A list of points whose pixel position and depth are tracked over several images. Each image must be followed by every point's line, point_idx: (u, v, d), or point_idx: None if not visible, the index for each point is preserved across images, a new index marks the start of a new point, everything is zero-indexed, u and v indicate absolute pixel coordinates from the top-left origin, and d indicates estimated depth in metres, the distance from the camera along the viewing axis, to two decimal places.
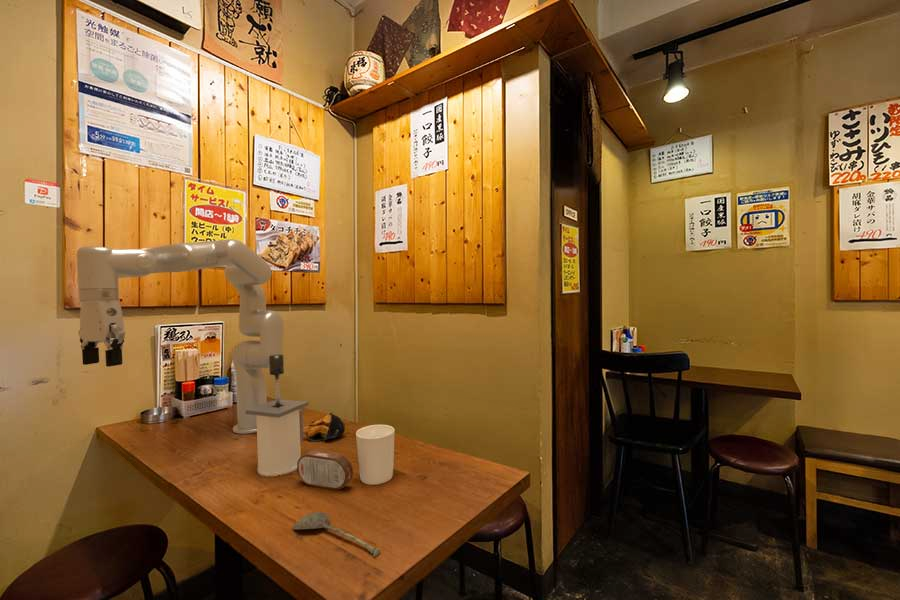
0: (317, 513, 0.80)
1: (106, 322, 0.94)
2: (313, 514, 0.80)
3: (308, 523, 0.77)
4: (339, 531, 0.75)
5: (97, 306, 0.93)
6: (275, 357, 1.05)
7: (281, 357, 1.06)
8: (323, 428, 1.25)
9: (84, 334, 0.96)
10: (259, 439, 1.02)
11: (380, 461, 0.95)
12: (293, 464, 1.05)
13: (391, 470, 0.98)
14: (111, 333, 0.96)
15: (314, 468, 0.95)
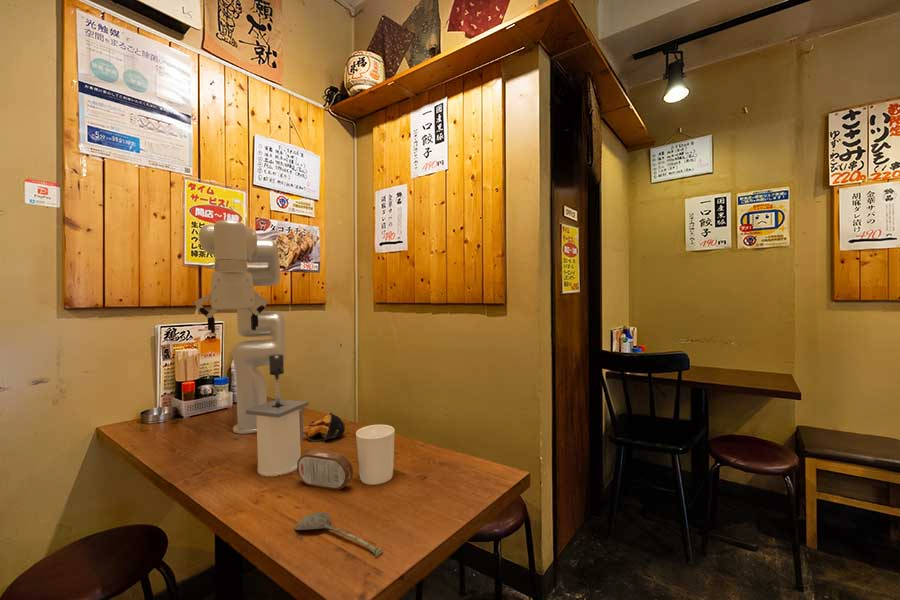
0: (318, 513, 0.80)
1: None
2: (314, 514, 0.79)
3: (309, 523, 0.77)
4: (341, 531, 0.75)
5: None
6: (275, 357, 1.05)
7: (281, 357, 1.06)
8: (323, 428, 1.25)
9: None
10: (259, 439, 1.02)
11: (380, 461, 0.95)
12: (293, 464, 1.05)
13: (391, 470, 0.98)
14: None
15: (314, 468, 0.95)
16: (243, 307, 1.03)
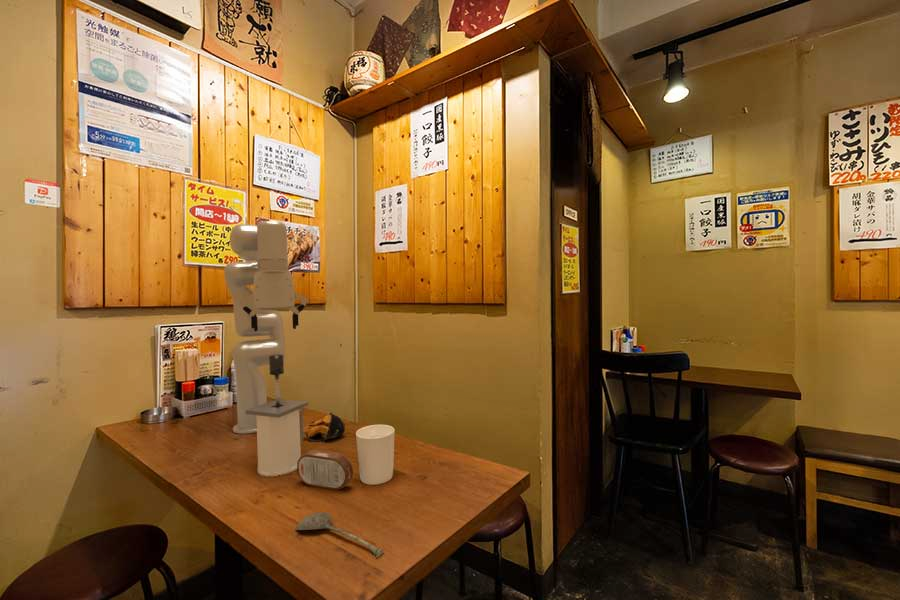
0: (319, 513, 0.80)
1: None
2: (315, 514, 0.79)
3: (310, 524, 0.77)
4: (342, 531, 0.75)
5: None
6: (275, 357, 1.05)
7: (281, 357, 1.06)
8: (323, 428, 1.25)
9: None
10: (259, 439, 1.02)
11: (380, 461, 0.95)
12: (293, 464, 1.05)
13: (391, 470, 0.98)
14: None
15: (314, 468, 0.95)
16: (283, 306, 1.04)
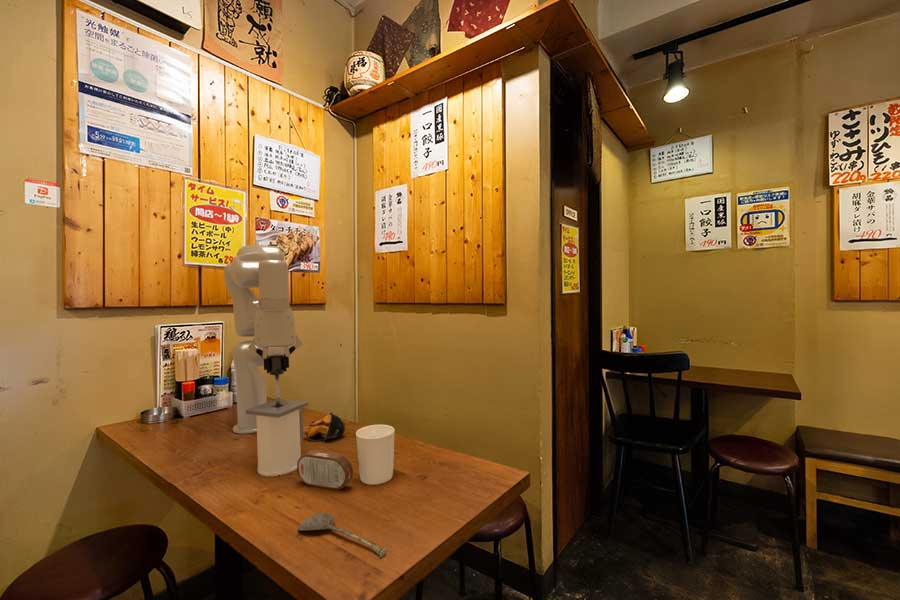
0: (322, 514, 0.80)
1: None
2: (318, 515, 0.79)
3: (313, 524, 0.77)
4: (344, 531, 0.75)
5: None
6: (275, 357, 1.05)
7: (281, 357, 1.06)
8: (323, 428, 1.25)
9: None
10: (259, 439, 1.02)
11: (380, 461, 0.95)
12: (293, 464, 1.05)
13: (391, 470, 0.98)
14: None
15: (314, 469, 0.95)
16: (284, 344, 1.05)
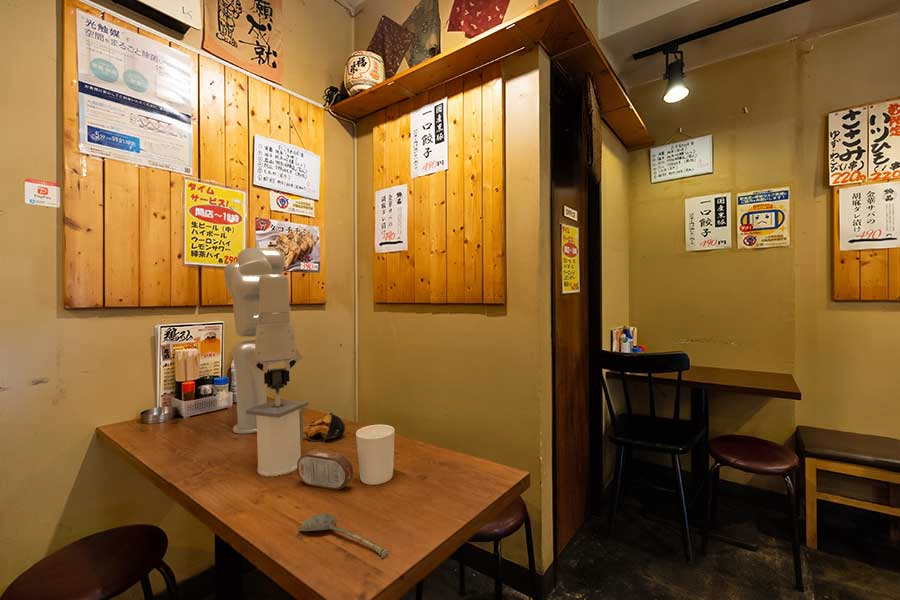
0: (323, 514, 0.80)
1: None
2: (319, 515, 0.79)
3: (314, 525, 0.77)
4: (346, 532, 0.75)
5: None
6: (275, 371, 1.05)
7: (281, 371, 1.06)
8: (323, 428, 1.25)
9: None
10: (259, 439, 1.02)
11: (380, 461, 0.95)
12: (293, 464, 1.05)
13: (391, 470, 0.98)
14: None
15: (314, 468, 0.95)
16: (285, 358, 1.05)
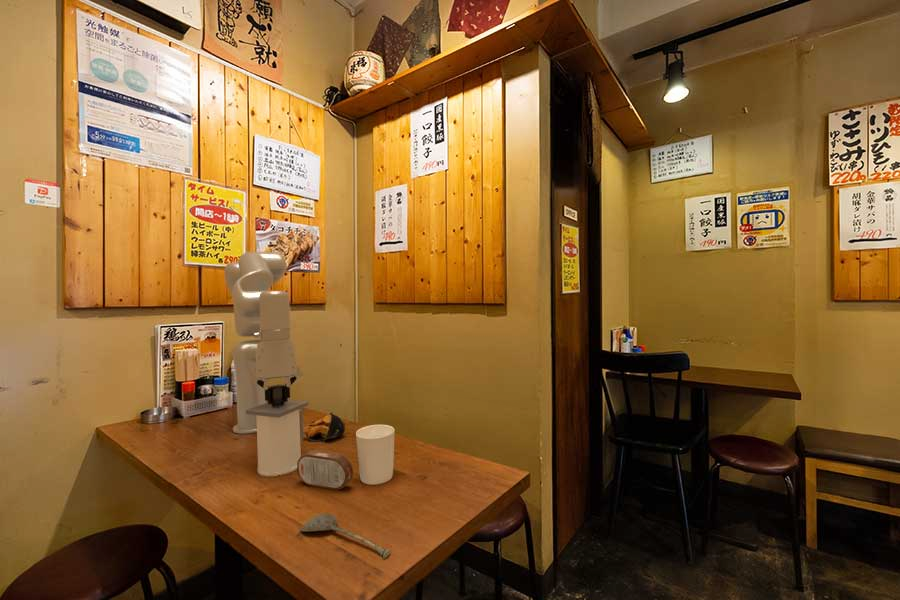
0: (324, 515, 0.79)
1: None
2: (320, 516, 0.79)
3: (315, 525, 0.77)
4: (347, 532, 0.74)
5: None
6: (276, 388, 1.05)
7: (282, 388, 1.06)
8: (323, 428, 1.25)
9: None
10: (259, 439, 1.02)
11: (380, 461, 0.95)
12: (293, 464, 1.05)
13: (391, 470, 0.98)
14: None
15: (314, 469, 0.95)
16: (285, 375, 1.05)
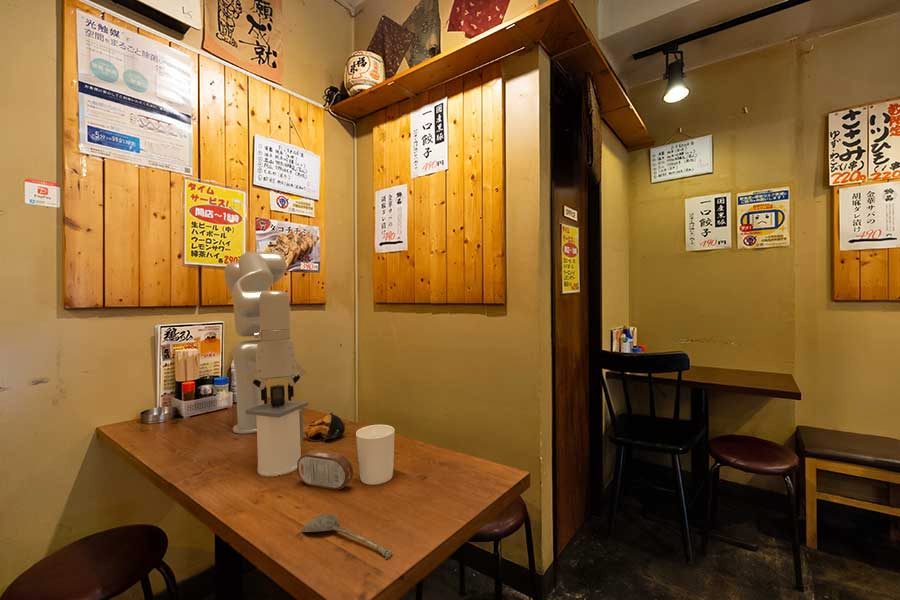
0: (326, 515, 0.79)
1: None
2: (322, 516, 0.79)
3: (317, 525, 0.76)
4: (349, 533, 0.74)
5: None
6: (276, 388, 1.05)
7: (282, 388, 1.06)
8: (323, 428, 1.25)
9: None
10: (259, 439, 1.02)
11: (380, 461, 0.95)
12: (293, 464, 1.05)
13: (391, 470, 0.98)
14: None
15: (314, 469, 0.95)
16: (285, 375, 1.05)
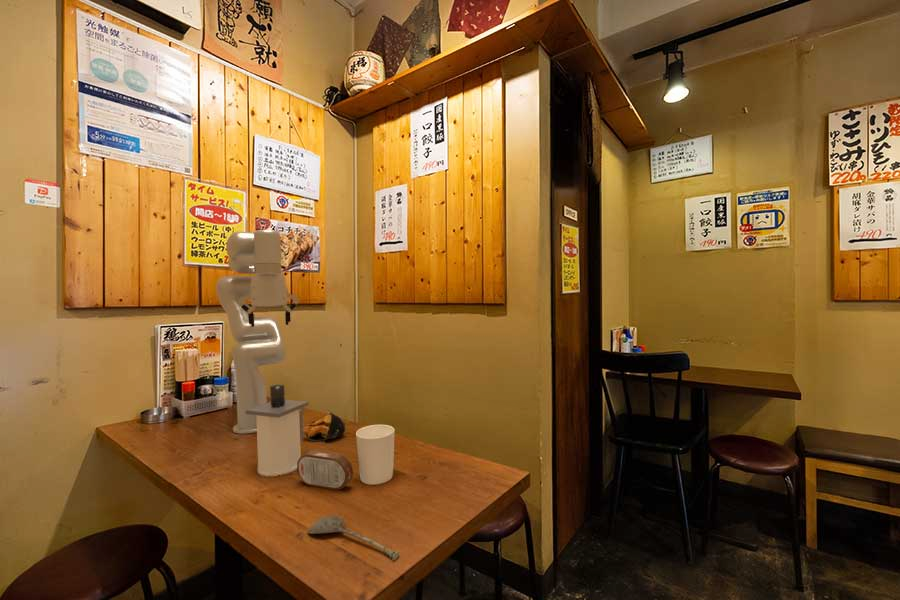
0: (331, 517, 0.79)
1: None
2: (327, 518, 0.78)
3: (323, 527, 0.76)
4: (355, 534, 0.74)
5: None
6: (276, 388, 1.05)
7: (282, 388, 1.06)
8: (323, 428, 1.25)
9: None
10: (259, 439, 1.02)
11: (380, 461, 0.95)
12: (293, 464, 1.05)
13: (391, 470, 0.98)
14: None
15: (314, 469, 0.95)
16: (277, 304, 1.18)
